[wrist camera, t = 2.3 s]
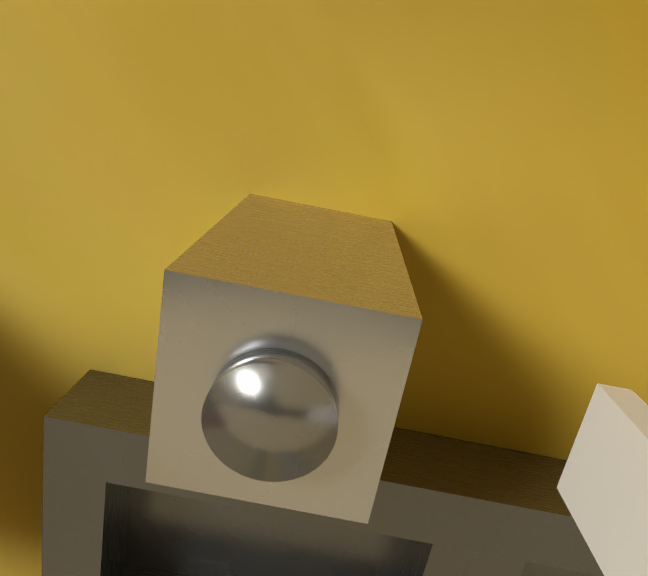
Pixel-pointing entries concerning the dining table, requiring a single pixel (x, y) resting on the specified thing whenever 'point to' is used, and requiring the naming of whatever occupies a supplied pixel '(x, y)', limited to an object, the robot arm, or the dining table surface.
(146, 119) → the dining table surface
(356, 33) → the dining table surface
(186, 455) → the grey knobbed block
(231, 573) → the divided tray
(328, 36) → the dining table surface
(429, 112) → the dining table surface
